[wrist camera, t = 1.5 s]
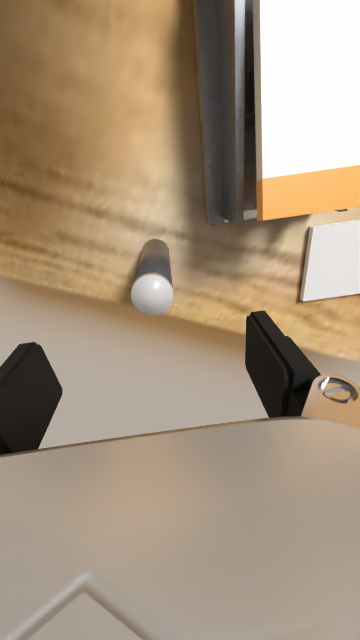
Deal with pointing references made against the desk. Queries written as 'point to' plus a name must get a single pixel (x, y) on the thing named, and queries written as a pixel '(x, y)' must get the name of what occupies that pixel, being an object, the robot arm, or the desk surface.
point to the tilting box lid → (306, 106)
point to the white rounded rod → (153, 279)
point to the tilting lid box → (227, 108)
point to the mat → (332, 261)
